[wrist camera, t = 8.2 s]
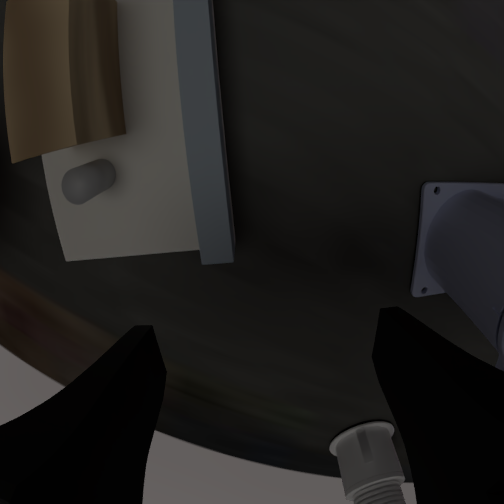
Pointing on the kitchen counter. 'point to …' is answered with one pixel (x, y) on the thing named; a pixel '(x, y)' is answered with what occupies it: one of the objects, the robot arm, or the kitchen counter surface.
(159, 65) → the board
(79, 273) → the kitchen counter surface
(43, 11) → the brown tapered block
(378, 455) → the white threaded pipe fitting
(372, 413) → the kitchen counter surface
